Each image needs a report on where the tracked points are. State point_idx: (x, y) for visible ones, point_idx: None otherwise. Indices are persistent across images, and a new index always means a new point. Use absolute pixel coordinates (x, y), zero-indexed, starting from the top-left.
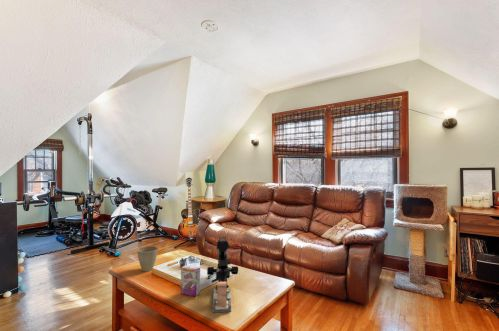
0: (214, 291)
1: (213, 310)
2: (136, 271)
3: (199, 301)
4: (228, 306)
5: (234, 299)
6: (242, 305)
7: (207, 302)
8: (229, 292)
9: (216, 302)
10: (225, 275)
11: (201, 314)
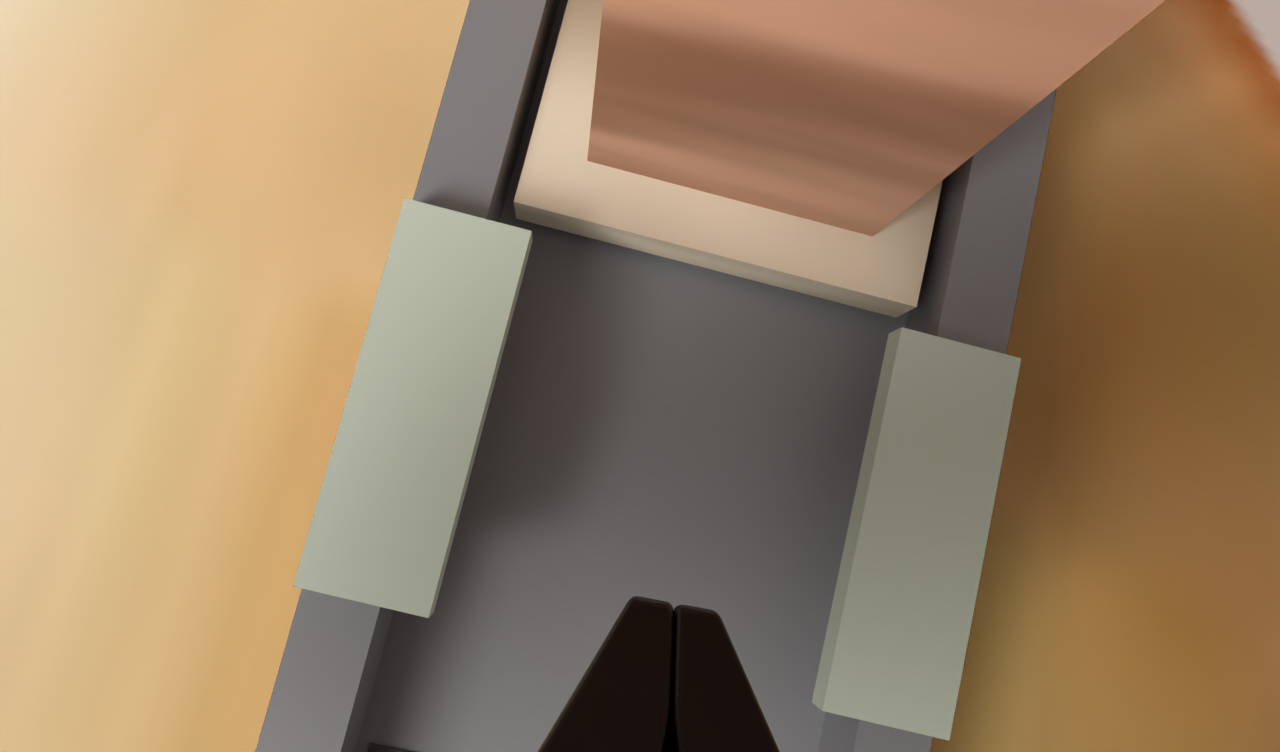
0: None
1: None
2: None
3: (1274, 748)
4: None
5: (230, 521)
6: (117, 102)
7: (1060, 613)
8: (312, 714)
9: (913, 208)
10: None
11: (1263, 75)
